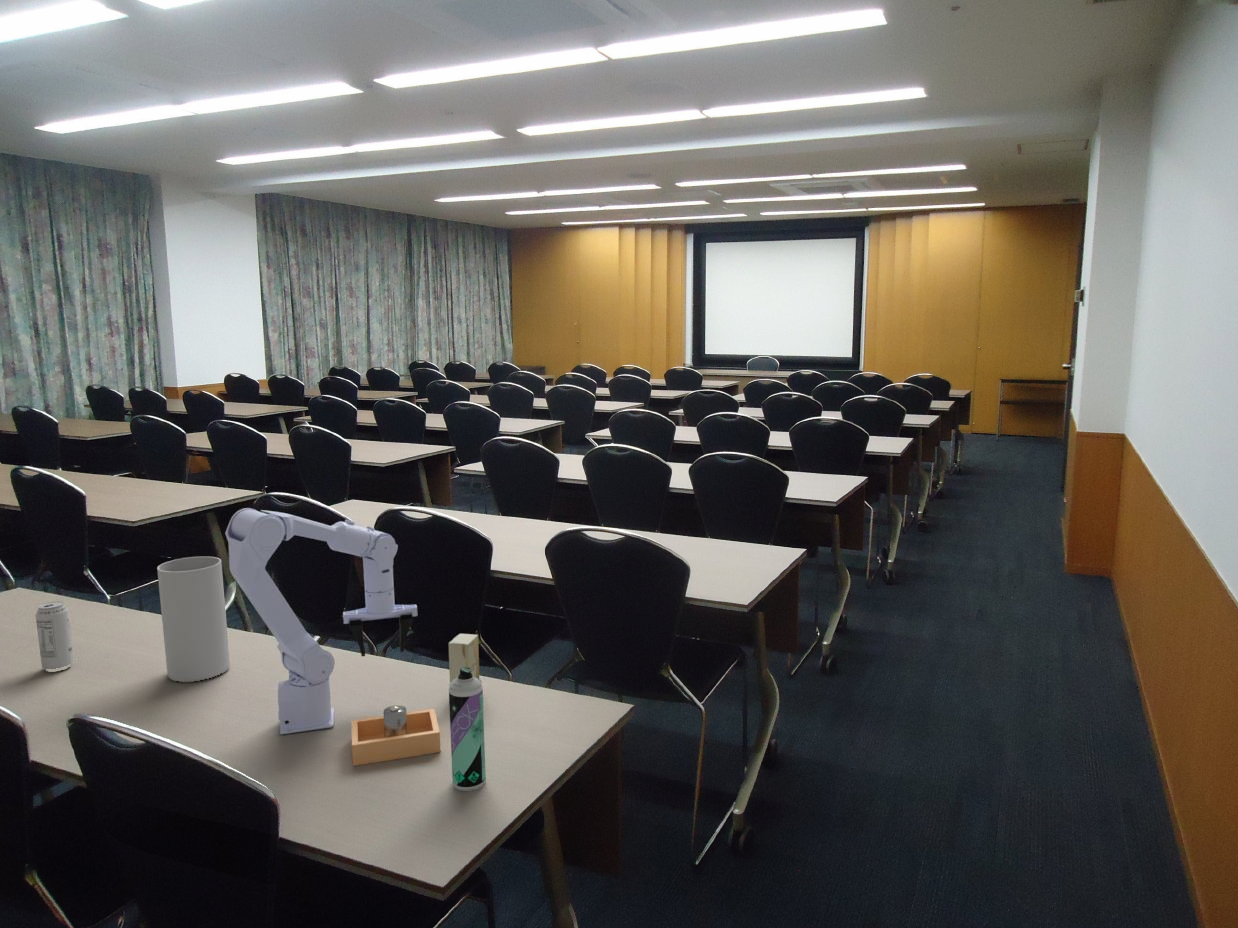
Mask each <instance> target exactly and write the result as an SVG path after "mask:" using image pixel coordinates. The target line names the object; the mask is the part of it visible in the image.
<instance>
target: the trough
mask: <svg viewBox="0 0 1238 928" xmlns="http://www.w3.org/2000/svg"><path fill="white" fill-rule="evenodd" d="M406 717H407V735H401V736H394V737H387V738H384V715H381V716H373V717H367V718H366V717H365V718H358V719H353V720H351V751H352V752H351V754H352V766H353V767H354V766H360V765H366V764H373V763H379V762H380V763H381V762H386V761H393V760H397V759H398V760H399V759H405V758H411V757H418V756H424V755H431V754H436V753H442V752H441V735H440V734H441V731H440V728H439V724H438V723H439V722H438V720H437V719H438V718H437V715H436V711H435V708H431V709H429V708H428V709H424V710H417V711H409V712H407V711H406Z"/></svg>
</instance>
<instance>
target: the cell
mask: <svg viewBox="0 0 1238 928" xmlns="http://www.w3.org/2000/svg"><path fill="white" fill-rule="evenodd" d="M382 712H383V716H384V738H387V737H394V736H401V735H407V717H406V713H407V708H406V706H403V705H399V704H398V705H397V704H393V705H391V706H390V705H389V706H387V707H386V708H385V709H384V710H383V711H382Z"/></svg>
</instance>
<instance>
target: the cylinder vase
mask: <svg viewBox="0 0 1238 928" xmlns="http://www.w3.org/2000/svg"><path fill="white" fill-rule="evenodd" d="M222 565H223V564H222V559H221V558H219V557H215V556H191V557H190V556H189V557H182V558H178V559H177V558H176V559H173V560H170V561H166V562H163V563H161V564H159V565H158V566H157V568H156V569H157V578H158V592H159V601H160V610H161V611H160V612H161V621H162V633H163V642H164V654H165V664H166V673H167V676H168V678H169V679H170V680H171V681H173V682H176V681H179V682H178V683H195V682H194V681H198V682H201V681H200V680H203V681H205V680H204V679H207V680H210V679H209V678H211V679H213V678H212V677H214V676H216V677H218V676H217V675H219V676H221V675H222V674H224V673H225V672H226V671H228V670H229V668H230V666H231V661H230V659H231V658H230V650H229V649H230V647H229V637H228V626H227V613H226V601H225V591H224V577H223V566H222ZM221 673H222V674H221ZM220 674H221V675H220ZM214 678H215V677H214Z"/></svg>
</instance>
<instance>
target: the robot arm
mask: <svg viewBox="0 0 1238 928" xmlns="http://www.w3.org/2000/svg"><path fill="white" fill-rule="evenodd" d="M224 534H225V537H226V540H227V542H228V561H229V562H228V564H229V571H230V574H231V576H232V577H233V579H234V580H235V582H236V583H237V584H238V586H239V587H240V589H241V590H242V591H243V593H244V595H246V597H247V599H248V600H249V602H250V603H251V604H252V606H253V608H254V609H255V610H256V612H257V613H258V615H259V617H260V618H261V619H262V620H263V621H262V622H264V624H265V625H266V627H267V628H268V629H269V631H270V633H271V634H272V635H273V637H274V638H275V640H276V641H277V643H278V645H277V650H279V653H280V655H281V656H280V657H281V663H282V666H283V667H284V668H285V669H286V670H287V671H288V679H286V680H283V681H282V680H281V681H279V682H278V684H277V686H278V687H277V703H278V706H277V707H278V711H277V712H278V714H277V715H278V721H279V729H280V731H279V734H280V735H288V734H295V733H300V732H308V731H314V730H321V729H328V728H334V720H335V719H334V718H335V708H334V707H332V704H331V687H330V676H331V675H332V673H333V671H334V668H335V658H334V655H333V654H332V652H330V651H328V650H325V649H324V648H323V647H321V645H320V644H319V642H318V641H317V640H315V638H313V637H312V636H311V635H310V634H309V633H308V631H306V629H305V627H304V626H303V624H302V622H301V621H300V620H299V619H298V617H297V616H296V614H295V612H294V610H293V609H292V608H291V607H290V604H289V603H288V602H287V600H286V599H285V597H284V595H283V594H282V593H281V591H280V590H279V588H278V586H277V585H276V583H275V581H273V579H272V578H271V576H270V574H269V572H267V570H266V566H267V564H268V562H269V560H270V559H271V557H272V555H274V553H275V552H276V550H277V549H278V548H279V546H280V545H281V543H282V542H283V541H286V542H287V541H290V539H292V538H293V537H294V536H297V537H298V536H299V537H304V538H307V539H308V538H309V539H314V540H317V541H322V542H326V543H327V545H328V547H329V548H330V550H332V551H334V552H340V553H344V554H349V555H353V556H358V557H362V562H363V563H362V566H363V581H364V600H365V601H364V603H365V607H363V608H357V609H355V610H354V609H353V610H349V611H343V612H342V613H343V614H342V615H343V625H344V624H345V625H347V624H349V629H350V632H351V633H352V635H353V636H354V638H355V640H356V641H357V645H358V646H359V651H360V653H361V657H365V656H366V649H365V647H366V646H365V642H364V632H363V631H364V630H363V621H374V620H383V619H392V618H394V619H395V618H398V621H399V652H400V653H403V652H405V644H406V640H407V636H408V633H409V630H410V628H411V626H412V623H413V617H418V606H417V604H395V587H394V567H393V566H394V558H395V557H396V555H397V552H398V547H399V545H398V544H397V543H396V540H395V538H394V537H393V536H392V535H391V534H389V533H386V532H383V531H379V530H376V529H375V527H372V526H369V525H367V526H366V527H364V526H359V525H356V524H355V521H353V520H349V519H345V520H344V521H338V522H335V523H334V524H332V525H328V524H325V523H322V522H318V521H314V520H311V519H307V518H304V517H301V516H297V515H294V514H290V513H285V512H280V511H272V510H266V509H265V510H263V509H260V511H258V510H256V509H255V508H251V507H246V508H245V507H244V508H241V509H238V510H237V511H236V512H235V513H233V515H232V516H231V518H230V520H229V523H228V525H227V527H226V530H225V533H224Z"/></svg>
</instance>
